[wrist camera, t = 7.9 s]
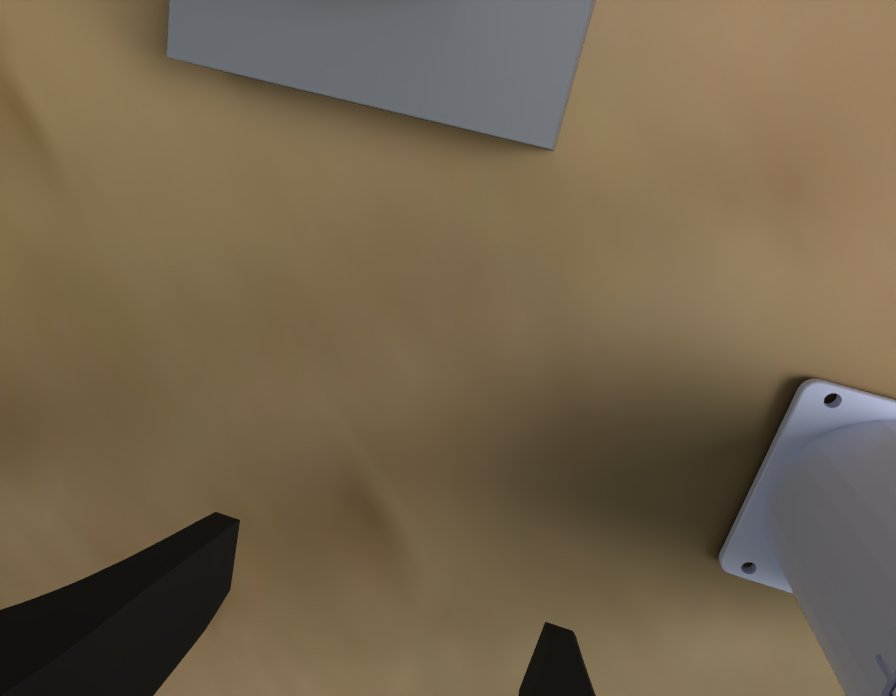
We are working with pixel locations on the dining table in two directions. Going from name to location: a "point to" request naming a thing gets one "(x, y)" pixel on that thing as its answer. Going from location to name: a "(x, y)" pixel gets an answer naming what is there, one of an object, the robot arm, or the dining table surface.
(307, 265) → the dining table surface
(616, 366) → the dining table surface
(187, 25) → the slate block
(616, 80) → the dining table surface
